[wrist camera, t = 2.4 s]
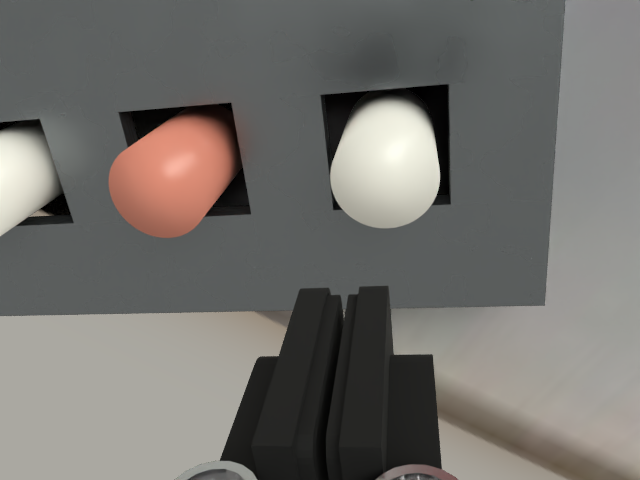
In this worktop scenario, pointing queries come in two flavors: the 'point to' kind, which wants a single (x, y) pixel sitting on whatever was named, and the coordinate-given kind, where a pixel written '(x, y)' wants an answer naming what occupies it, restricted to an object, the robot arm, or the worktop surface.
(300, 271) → the panel
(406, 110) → the cream plug
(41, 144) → the cream plug
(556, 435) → the worktop surface
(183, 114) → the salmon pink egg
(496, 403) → the worktop surface
